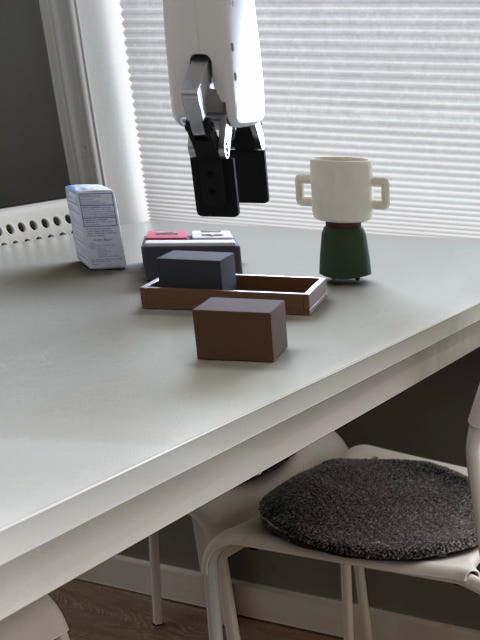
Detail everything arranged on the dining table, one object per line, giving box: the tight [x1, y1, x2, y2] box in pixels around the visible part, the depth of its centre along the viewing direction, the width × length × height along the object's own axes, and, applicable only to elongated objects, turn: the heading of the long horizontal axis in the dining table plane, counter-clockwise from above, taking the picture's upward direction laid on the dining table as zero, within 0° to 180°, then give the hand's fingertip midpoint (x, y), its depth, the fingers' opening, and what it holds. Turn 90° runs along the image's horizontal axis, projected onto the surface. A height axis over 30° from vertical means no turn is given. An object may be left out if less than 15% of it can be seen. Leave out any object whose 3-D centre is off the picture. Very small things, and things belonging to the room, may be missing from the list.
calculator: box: [140, 229, 244, 281], centre depth 115 cm, size 11×4×15 cm
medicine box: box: [64, 183, 127, 270], centre depth 115 cm, size 8×4×9 cm, turn 30°
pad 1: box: [156, 250, 237, 290], centre depth 99 cm, size 6×6×4 cm
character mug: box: [294, 156, 391, 282], centre depth 110 cm, size 11×7×13 cm, turn 85°
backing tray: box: [138, 273, 328, 316], centre depth 100 cm, size 17×10×2 cm, turn 88°
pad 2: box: [191, 297, 289, 363], centre depth 81 cm, size 6×6×4 cm
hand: (235, 209), depth 76 cm, fingers open, 9 cm apart
